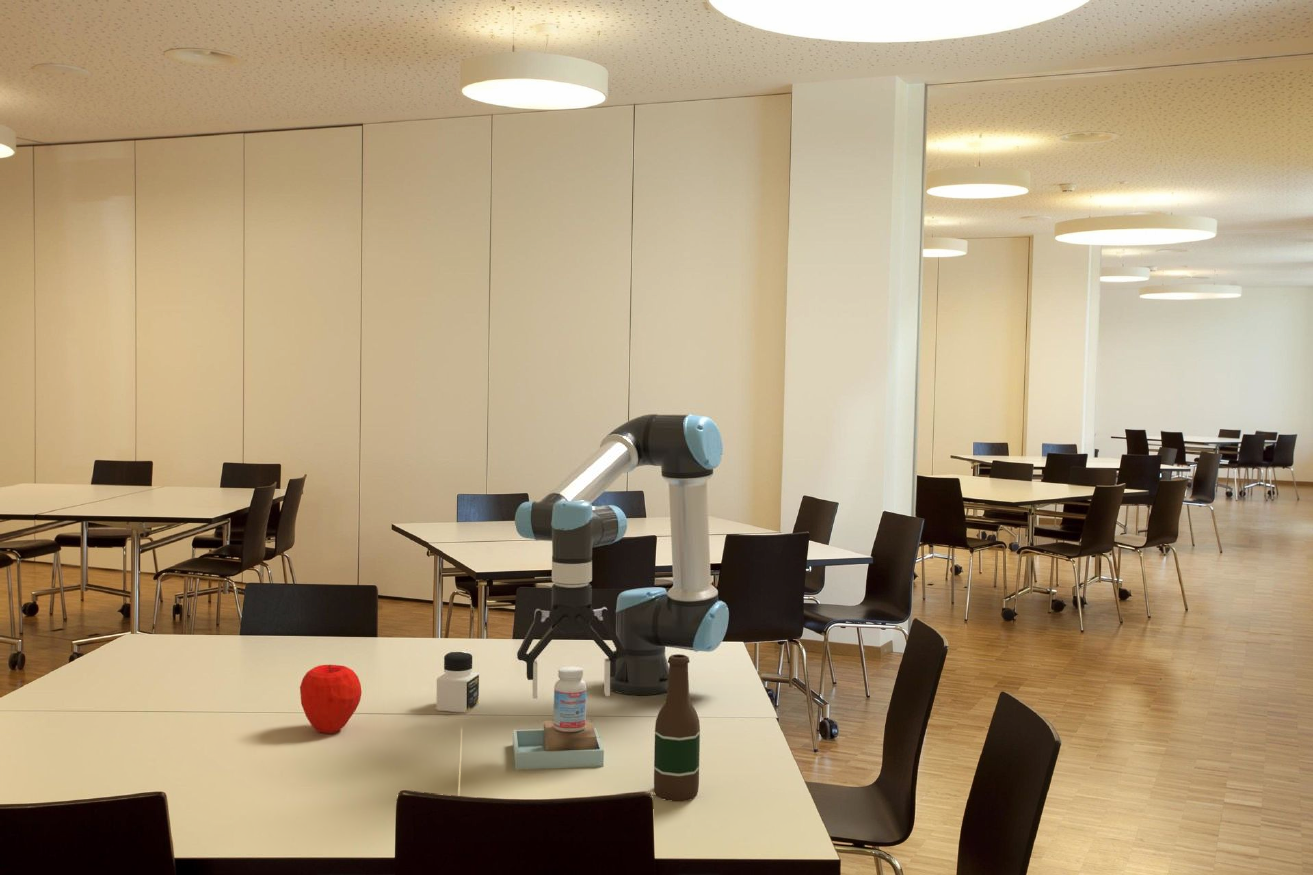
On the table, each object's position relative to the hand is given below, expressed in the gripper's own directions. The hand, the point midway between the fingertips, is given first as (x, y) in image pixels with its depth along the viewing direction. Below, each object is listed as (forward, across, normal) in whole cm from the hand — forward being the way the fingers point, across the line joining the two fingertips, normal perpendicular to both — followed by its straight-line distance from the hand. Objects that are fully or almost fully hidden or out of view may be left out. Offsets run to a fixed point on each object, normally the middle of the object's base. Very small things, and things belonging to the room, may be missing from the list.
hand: (571, 695), depth 208 cm
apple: (+12, +47, -22) cm, 53 cm away
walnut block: (+11, 0, 0) cm, 11 cm away
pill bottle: (+6, 0, 0) cm, 6 cm away
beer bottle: (+12, -16, +21) cm, 29 cm away
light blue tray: (+12, +3, 0) cm, 12 cm away
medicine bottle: (+12, +22, -36) cm, 43 cm away
